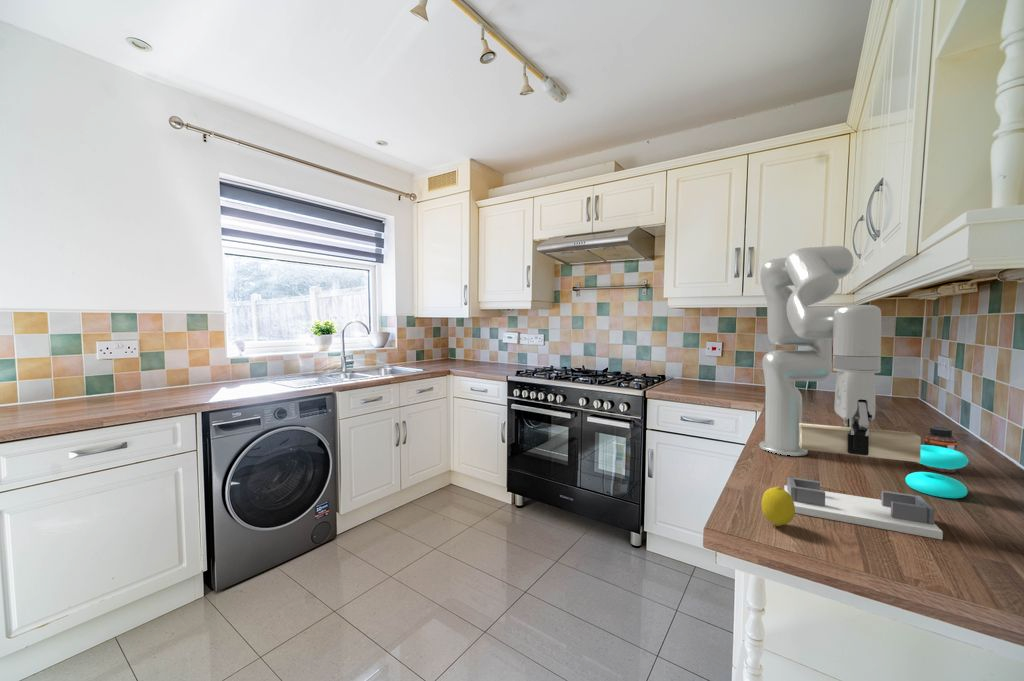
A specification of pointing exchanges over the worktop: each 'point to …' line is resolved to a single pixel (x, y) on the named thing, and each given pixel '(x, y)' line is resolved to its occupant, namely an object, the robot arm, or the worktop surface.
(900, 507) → the end caps
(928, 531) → the board
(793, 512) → the lemon
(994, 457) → the worktop surface
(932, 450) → the donuts
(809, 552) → the worktop surface
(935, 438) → the supplement bottle
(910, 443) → the slat
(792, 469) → the worktop surface
